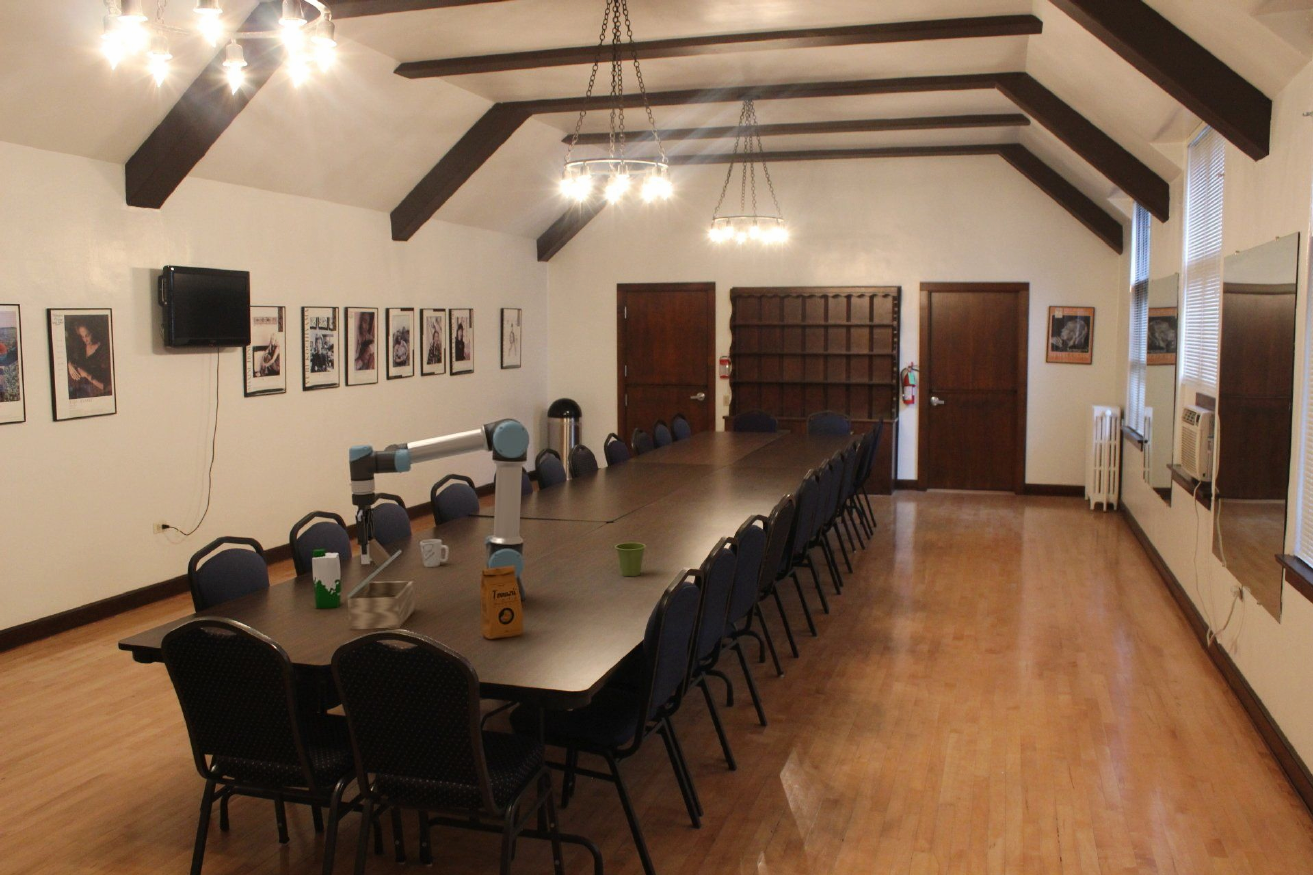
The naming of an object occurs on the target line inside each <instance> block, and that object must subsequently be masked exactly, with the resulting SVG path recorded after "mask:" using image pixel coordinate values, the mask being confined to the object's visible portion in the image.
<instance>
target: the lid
mask: <svg viewBox="0 0 1313 875" xmlns="http://www.w3.org/2000/svg"><path fill="white" fill-rule="evenodd" d="M368 544H369V551H370V558H371V559H372V560H373V561H372V562H373V563H374V564H375V565H376V566H377V567H378V568H377V569H376V570H375V571H374V572H373V573H371V574H370V575H369V576H368V577H367V578H366V579H364V580H363V581H362V582H361V583H360V584H359V585H358V586H356V587H355V588H354V589H353V590H352V591H351V592H349V593H348V594H346V596H347V598H350V597H351V596H352V595H353V594H354V593H355V592H357V591H358V590H359V589H360V588H361V587H362V586H363V585H365V584H366V583H367V582H370V581H371V579H372V578H374V577H375V576H376V575H378V574H379V573H380V572H381V571H382V570H383V569H385V567H387V566H388V565H389V564H390V563H392V561H394V560H395V558H396V557H398V556H399V555H401V553H403V552H402V550H401V549H399V550H398V551H397V552H395V553H394V554H393V555H392V556H391V555H390V554H389V553H388V552H387V551H386V549H385V548H384V547H383V546H382V545H381V544H380V543H379V542H378V541H377V539H376V540H375V539H372V540H371V541H370V542H369V543H368Z"/></svg>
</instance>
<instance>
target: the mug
mask: <svg viewBox="0 0 1313 875" xmlns="http://www.w3.org/2000/svg"><path fill="white" fill-rule="evenodd" d="M442 543H443V542H442V539H436V538H429V539H424V540H421V541H420V544H419V545H420V552H421V558H422V562H423V566H424V567H425V568H435V567H439V566H440V564H441V563H446V562H447V561H448V558H449V553H450V547H449V546H448V545H444V544H442ZM442 549H444V550H445V554H444V558H443V557H442Z"/></svg>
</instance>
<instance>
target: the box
mask: <svg viewBox="0 0 1313 875" xmlns="http://www.w3.org/2000/svg"><path fill="white" fill-rule="evenodd" d="M414 584H415V583H414V580H407V581H406V580H403V581H402V580H401V581H399V580H397V581H368V582H367V583H366V584H365V585H363V586H362V587H361V588H360V589H359V590H358V591H357V592H355V593H354V594H353V595H352V596H351V597H350V598H349V597H347V613H348V628H349V630H374V629H373V628H388V629H387V630H389V629H390V630H391V629H392V630H394V629H395V630H397V629H400V628H401V627H402V625H403V624H404V623H405V622H406V621H407V619H408V618H409V617H410V616H411V615H412V614H413V612H414V611H415V610H416V606H415V605H416V604H415V587H414Z"/></svg>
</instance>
